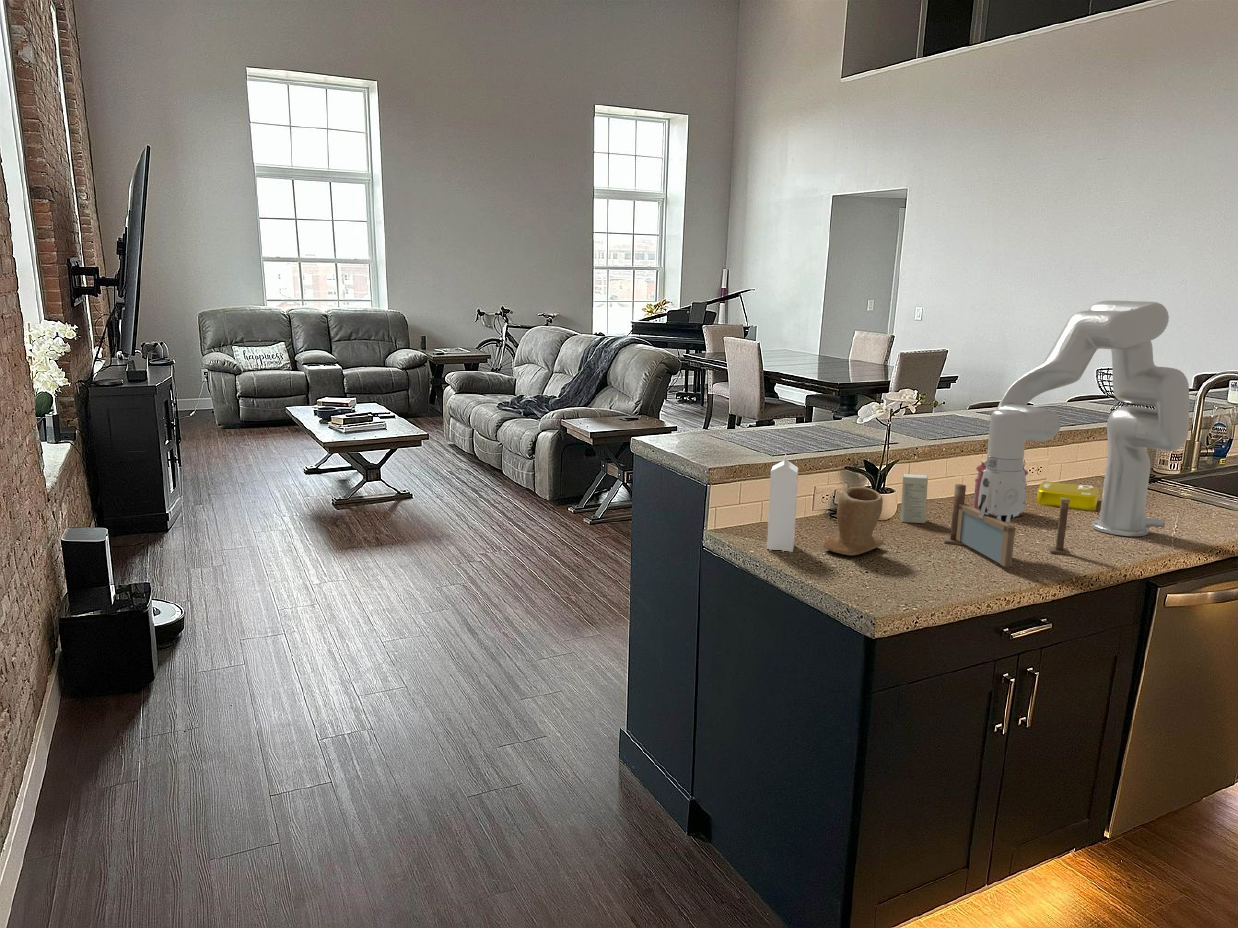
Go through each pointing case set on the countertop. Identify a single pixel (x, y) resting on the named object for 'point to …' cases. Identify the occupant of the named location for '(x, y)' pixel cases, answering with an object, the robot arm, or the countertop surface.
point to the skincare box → (914, 498)
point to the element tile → (1068, 495)
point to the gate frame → (960, 499)
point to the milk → (782, 506)
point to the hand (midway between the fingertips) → (996, 541)
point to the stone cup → (856, 522)
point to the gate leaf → (986, 534)
